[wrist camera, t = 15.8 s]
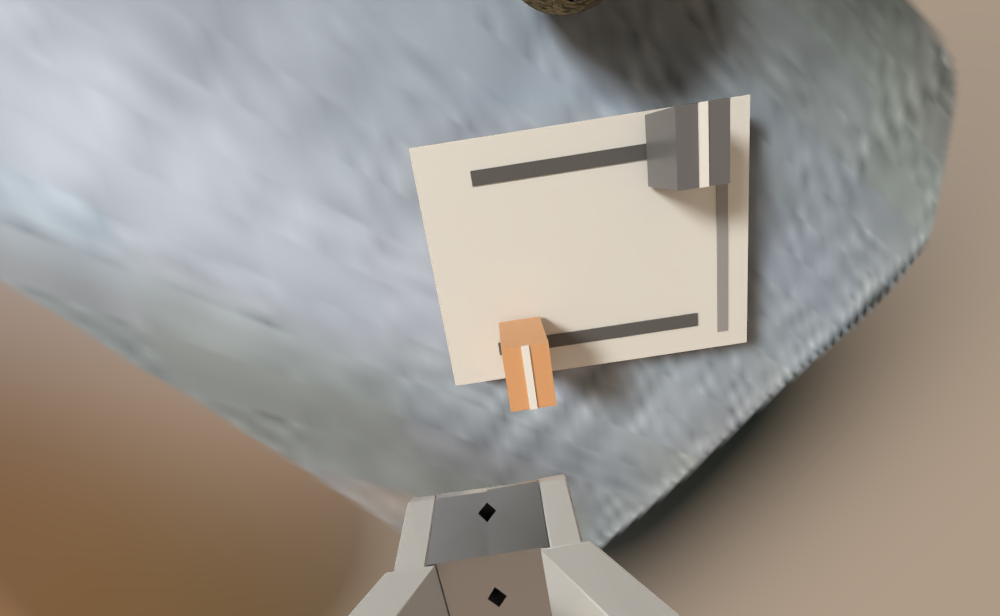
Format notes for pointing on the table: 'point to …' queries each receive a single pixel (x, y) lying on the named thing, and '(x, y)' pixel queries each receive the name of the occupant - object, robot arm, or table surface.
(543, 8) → the cup
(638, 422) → the table surface
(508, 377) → the fader
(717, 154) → the fader
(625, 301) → the mixer console
